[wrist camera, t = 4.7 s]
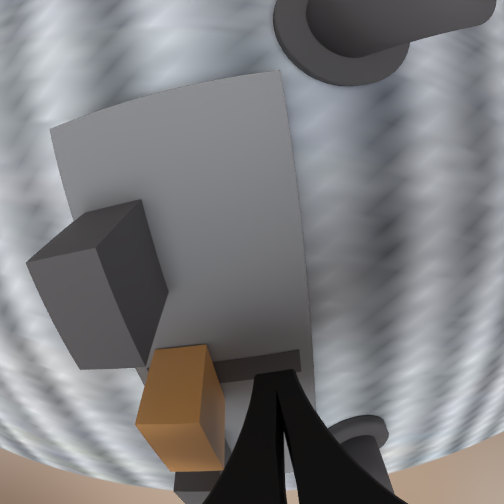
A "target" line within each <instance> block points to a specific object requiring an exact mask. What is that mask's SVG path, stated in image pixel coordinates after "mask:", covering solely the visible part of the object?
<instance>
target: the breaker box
mask: <svg viewBox="0 0 504 504" xmlns="http://www.w3.org/2000/svg"><path fill="white" fill-rule="evenodd" d="M50 134H51V138H52V143H53V147H54V152H55V156H56V160H57V164H58V168H59V172H60V176H61V179H62V183H63V187H64V190H65V194H66V197H67V201H68V204H69V207H70V211H71V214H72V217H73V220H74V222H72V223H71V224H70V225H69V226H68V227H66V228H65V229H64V230H63V231H62V232H60V233H59V234H58V235H57V236H56V237H54V238H53V239H52V240H51V241H50V242H49V243H47V244H46V245H45V246H44V247H43V248H42V249H41V250H39V251H38V252H37V253H36V254H35V255H34V256H33V257H32V258H31V259H29V260H28V261H27V262H26V265H27V267H28V269H29V272H30V274H31V277H32V279H33V281H34V283H35V286H36V288H37V290H38V292H39V294H40V297H41V299H42V301H43V303H44V305H45V307H46V309H47V311H48V313H49V315H50V317H51V319H52V321H53V323H54V325H55V327H56V329H57V331H58V332H59V334H60V336H61V338H62V340H63V342H64V343H65V345H66V347H67V349H68V350H69V352H70V354H71V356H72V357H73V359H74V361H75V362H76V364H77V366H78V367H79V369H80V370H85V369H118V368H136V370H137V372H138V374H139V376H140V378H141V380H142V382H143V384H144V385H145V383H146V380H147V376H148V372H149V369H150V365H151V361H152V358H153V354H154V351H155V350H158V349H169V348H179V347H188V346H197V345H205V344H207V348H208V351H209V354H210V357H211V360H212V363H213V366H214V368H215V371H216V374H217V377H218V380H219V383H220V386H221V389H222V392H223V394H224V397H225V454H224V468H225V466H226V464H227V462H228V460H229V458H230V456H231V454H232V451H233V449H234V447H235V444H236V442H237V439H238V437H239V434H240V432H241V429H242V426H243V423H244V420H245V417H246V414H247V411H248V407H249V403H250V399H251V395H252V390H253V383H254V376H255V375H256V374H262V373H269V372H275V371H282V370H288V369H293V370H295V371H296V374H297V377H298V380H299V382H300V384H301V386H302V388H303V390H304V392H305V394H306V396H307V398H308V400H309V401H310V403H311V405H312V406H313V408H314V409H315V411H316V405H315V383H314V365H313V349H312V334H311V320H310V307H309V295H308V284H307V273H306V262H305V252H304V242H303V233H302V223H301V215H300V206H299V198H298V189H297V181H296V174H295V166H294V159H293V151H292V144H291V137H290V130H289V123H288V117H287V110H286V104H285V98H284V91H283V85H282V79H281V73H280V70H278V71H269V72H261V73H254V74H247V75H241V76H235V77H229V78H223V79H217V80H212V81H207V82H202V83H197V84H193V85H188V86H184V87H179V88H175V89H171V90H167V91H163V92H159V93H155V94H151V95H148V96H144V97H141V98H137V99H134V100H130V101H127V102H124V103H120V104H117V105H114V106H111V107H108V108H105V109H102V110H99V111H96V112H93V113H90V114H88V115H85V116H82V117H79V118H77V119H74V120H71V121H69V122H66V123H64V124H61V125H59V126H56V127H54V128H51V129H50ZM284 456H285V473H290V472H294V471H293V467H292V463H291V459H290V455H289V451H288V447H287V442H286V438H285V434H284ZM222 472H223V470H221V471H191V472H176V473H175V482H174V492H175V493H176V494H177V495H178V496H179V497H180V498H181V500H182V501H183V502H184V503H185V504H202V503H203V502H204V500H205V499H206V498H207V496H208V495H209V493H210V492H211V490H212V489H213V487H214V485H215V484H216V482H217V480H218V479H219V477H220V475H221V473H222Z"/></svg>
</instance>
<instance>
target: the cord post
mask: <svg viewBox="0 0 504 504" xmlns="http://www.w3.org/2000/svg"><path fill="white" fill-rule="evenodd" d="M328 430H329V431H330V432H331V434H332V435H333V436H334V438H335V439H336V440H337V441H338V442H339V444H340V445H341V446H342V447H343V448H344V449H345V450H346V452H347V453H348V454H349V455H350V456H351V457H352V458H353V459H354V460H355V461H356V462H357V463H358V464H359V465H360V466H361V467H362V468H363V469H364V470H365V471H367V472H368V473H369V474H370V475H371V476H372V477H373V478H374V479H375V480H377V481H378V482H379V483H380V484H381V485H383V486H384V487H385V488H387V489H388V490H389V491H390V492H392V493H393V494H394V491H393V488H392V485H391V482H390V479H389V476H388V473H387V470H386V467H385V465H384V462H383V459H382V456H381V453H380V450H379V448H381V447H382V446H383V445H384V444H385V442H386V441H387V439H388V437H389V433H388V430H387V428H386V425H385V423H384V421H383V419H381V418H380V417H378V416H372V415H366V416H358V417H354V418H350V419H347V420H344V421H342V422H340V423H338V424H336V425H334V426H332V427H331V428H329V429H328ZM394 495H395V494H394Z"/></svg>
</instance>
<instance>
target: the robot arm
mask: <svg viewBox="0 0 504 504" xmlns="http://www.w3.org/2000/svg"><path fill="white" fill-rule="evenodd" d="M284 434H285V438H286V442H287V447H288V451H289V455H290V459H291V463H292V467H293V471H294V475H295V479H296V484H297V490H298V497H299V504H408V503H406V502H405V501H403V500H402V499H400V498H399V497H397V496H396V495H394V494H393V493H392V492H390V491H389V490H388V489H387V488H385V487H384V486H383V485H381V484H380V483H379V482H378V481H377V480H375V479H374V478H373V477H372V476H371V475H370V474H369V473H368V472H367V471H365V470H364V469H363V468H362V467H361V466H360V465H359V464H358V463H357V462H356V461H355V460H354V459H353V458H352V457H351V456H350V455H349V454H348V453H347V452H346V450H345V449H344V448H343V447H342V446H341V445H340V444H339V442H338V441H337V440H336V439H335V438H334V436H333V435H332V434H331V432H330V431H329V430H328V428H327V427H326V426H325V424H324V423H323V422H322V420H321V419H320V417H319V416H318V414H317V413H316V411H315V409H314V408H313V406H312V405H311V403H310V401H309V400H308V398H307V396H306V394H305V392H304V390H303V388H302V386H301V384H300V382H299V380H298V377H297V374H296V371H295V370H293V369H288V370H282V371H275V372H269V373H262V374H256V375H255V376H254V383H253V390H252V395H251V399H250V403H249V407H248V411H247V414H246V417H245V420H244V423H243V426H242V429H241V432H240V434H239V437H238V439H237V442H236V444H235V447H234V449H233V451H232V454H231V456H230V458H229V460H228V462H227V464H226V466H225V468H224V470H223V472H222V473H221V475H220V477H219V479H218V480H217V482H216V484H215V485H214V487H213V489H212V490H211V492H210V493H209V495H208V496H207V498H206V499H205V500H204V502H203V503H202V504H287V499H286V488H285V456H284Z"/></svg>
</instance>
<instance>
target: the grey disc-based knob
mask: <svg viewBox="0 0 504 504" xmlns="http://www.w3.org/2000/svg"><path fill="white" fill-rule="evenodd" d="M495 6H496V0H277V2H276V5H275V9H274V14H273V23H274V30H275V34H276V37H277V40H278V42H279V44H280V46H281V48H282V50H283V51H284V53H285V54H286V55H287V57H288V58H289V59H290V60H291V61H292V62H293V63H294V64H295V65H296V66H297V67H298V68H299V69H301V70H302V71H303V72H305V73H306V74H308V75H309V76H311V77H313V78H315V79H317V80H320V81H322V82H325V83H328V84H332V85H338V86H357V85H364V84H370V83H374V82H377V81H380V80H382V79H384V78H386V77H388V76H390V75H391V74H392V73H393V72H395V71H396V70H397V69H398V68H399V66H400V65H401V64H402V62H403V61H404V59H405V57H406V55H407V52H408V49H409V44H410V42H412V41H416V40H419V39H423V38H427V37H430V36H434V35H438V34H442V33H446V32H450V31H455V30H459V29H464V28H468V27H473V26H478V25H481V24H483V23H485V22H486V21H487V20H489V18H490V17H491V16H492V14H493V12H494V10H495Z"/></svg>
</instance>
